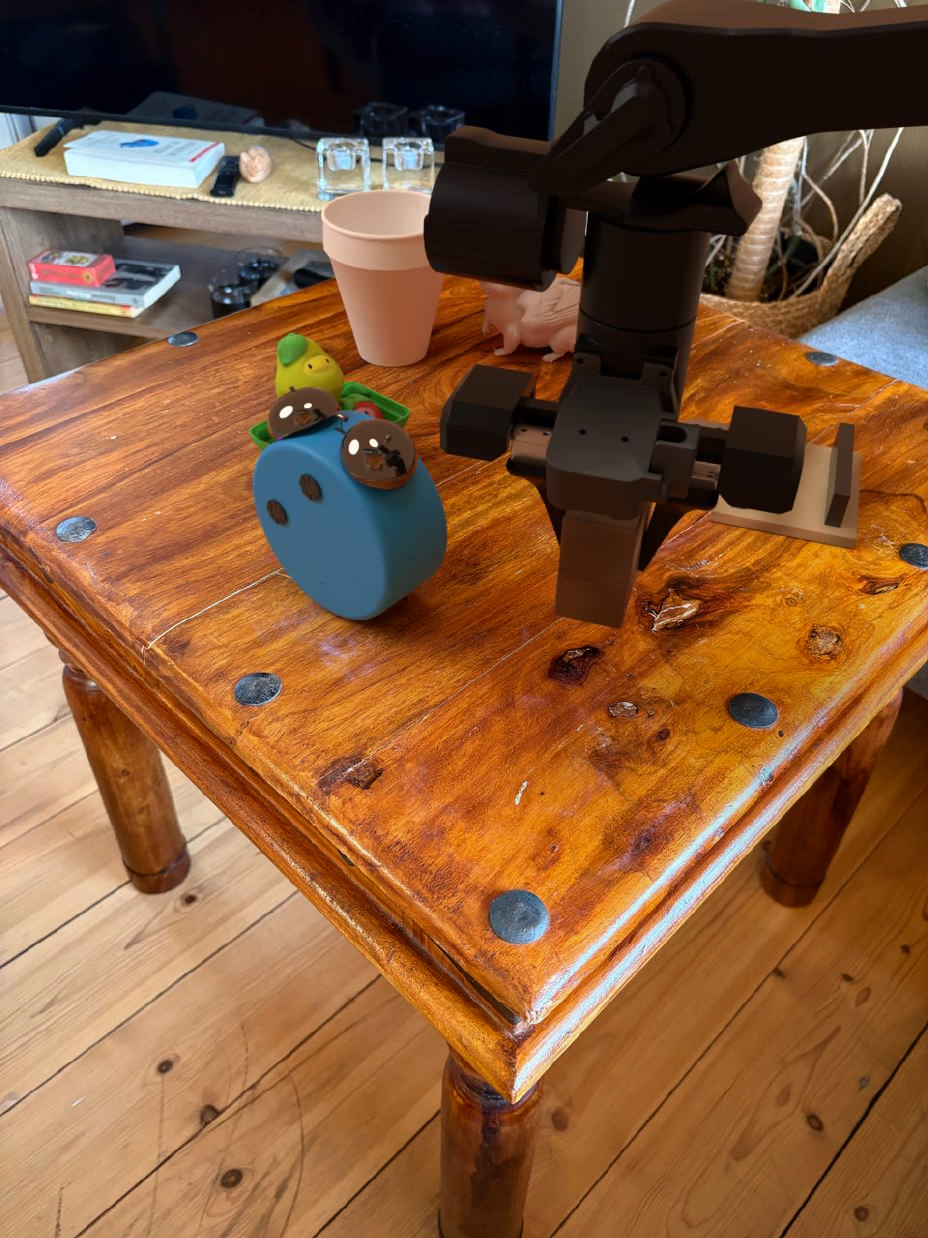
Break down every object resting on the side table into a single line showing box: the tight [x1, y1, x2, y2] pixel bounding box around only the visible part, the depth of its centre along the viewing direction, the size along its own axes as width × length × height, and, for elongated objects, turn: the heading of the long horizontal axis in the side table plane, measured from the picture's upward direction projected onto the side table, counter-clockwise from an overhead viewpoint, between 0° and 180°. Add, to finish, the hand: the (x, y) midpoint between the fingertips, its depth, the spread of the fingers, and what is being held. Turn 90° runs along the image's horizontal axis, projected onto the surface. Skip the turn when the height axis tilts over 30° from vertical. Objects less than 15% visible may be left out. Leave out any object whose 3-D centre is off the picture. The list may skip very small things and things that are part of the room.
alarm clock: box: [252, 386, 449, 621], centre depth 66 cm, size 13×6×15 cm, turn 49°
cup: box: [320, 188, 446, 368], centre depth 95 cm, size 12×12×14 cm
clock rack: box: [709, 406, 862, 550], centre depth 80 cm, size 11×13×4 cm
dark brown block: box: [553, 502, 654, 630], centre depth 57 cm, size 4×7×7 cm, turn 162°
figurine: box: [476, 276, 581, 363], centre depth 96 cm, size 8×15×13 cm, turn 100°
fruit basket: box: [248, 331, 411, 454], centre depth 79 cm, size 11×9×11 cm
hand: (603, 559), depth 58 cm, fingers closed on dark brown block, 4 cm apart
